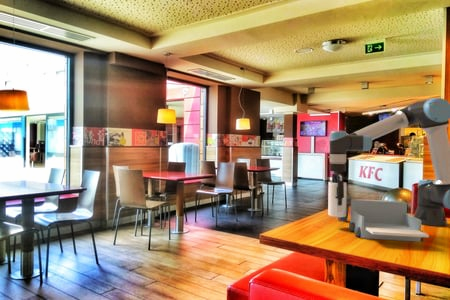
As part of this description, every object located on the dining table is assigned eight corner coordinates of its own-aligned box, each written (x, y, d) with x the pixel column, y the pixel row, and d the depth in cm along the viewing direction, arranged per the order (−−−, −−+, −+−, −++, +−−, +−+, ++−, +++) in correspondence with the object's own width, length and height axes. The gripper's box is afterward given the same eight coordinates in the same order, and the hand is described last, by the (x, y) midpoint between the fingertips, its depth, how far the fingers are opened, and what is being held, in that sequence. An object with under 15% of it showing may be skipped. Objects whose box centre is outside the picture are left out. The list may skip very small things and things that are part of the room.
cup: (343, 213, 162) (344, 181, 161) (348, 217, 153) (348, 183, 153) (326, 213, 162) (326, 181, 162) (330, 217, 154) (330, 183, 154)
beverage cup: (351, 222, 169) (352, 184, 168) (336, 221, 170) (337, 183, 170) (348, 219, 176) (349, 182, 176) (334, 218, 177) (335, 181, 177)
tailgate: (418, 230, 137) (428, 234, 128) (418, 232, 137) (428, 237, 128) (365, 227, 139) (372, 231, 130) (365, 229, 139) (372, 234, 130)
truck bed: (406, 230, 155) (407, 201, 155) (424, 241, 137) (425, 208, 137) (346, 227, 158) (347, 198, 158) (357, 237, 140) (358, 205, 140)
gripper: (325, 161, 168) (325, 205, 169) (334, 164, 148) (333, 214, 148) (340, 162, 168) (340, 206, 168) (351, 164, 147) (351, 215, 147)
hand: (337, 210), depth 158 cm, fingers closed on cup, 8 cm apart
